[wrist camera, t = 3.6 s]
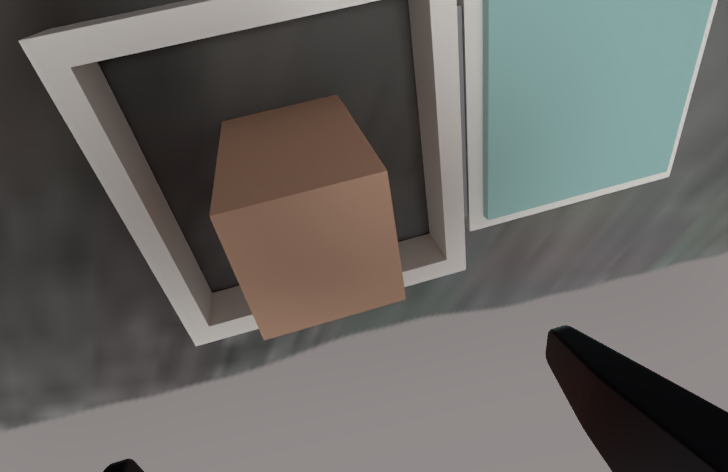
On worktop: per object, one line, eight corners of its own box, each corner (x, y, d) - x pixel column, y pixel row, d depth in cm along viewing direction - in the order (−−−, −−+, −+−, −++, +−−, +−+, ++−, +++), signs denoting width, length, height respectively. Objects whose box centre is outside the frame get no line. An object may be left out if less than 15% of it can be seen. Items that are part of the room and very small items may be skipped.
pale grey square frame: (206, 321, 24) (202, 357, 22) (48, 28, 15) (18, 40, 13) (448, 254, 25) (466, 281, 23) (429, -51, 16) (454, -51, 14)
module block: (259, 224, 21) (266, 346, 15) (222, 121, 18) (209, 216, 12) (358, 199, 22) (407, 305, 15) (337, 94, 19) (387, 170, 12)
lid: (448, 228, 24) (457, 241, 23) (432, -21, 17) (445, -19, 16) (658, 170, 25) (676, 180, 24) (723, -84, 18) (752, -86, 17)
